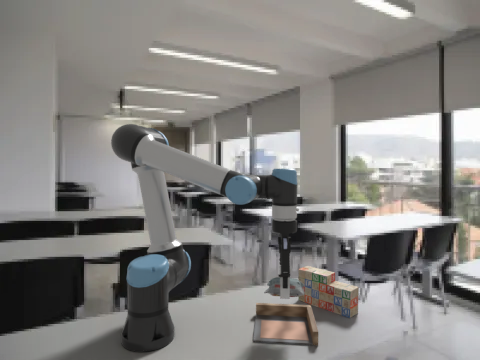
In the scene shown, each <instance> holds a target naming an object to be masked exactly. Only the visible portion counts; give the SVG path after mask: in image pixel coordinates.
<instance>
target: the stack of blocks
mask: <svg viewBox="0 0 480 360" xmlns="http://www.w3.org/2000/svg"><path fill="white" fill-rule="evenodd" d="M297 270H298V271H297V272H298V278H297V279H298V280H299V281H300V282H302V283H303V284H304V287H302V289H303V291H304V292H305V294H304V295H302V296H299V297H297V298H298V301H301V302H304V303H306V304H307V305H311V306H313V307H316V308H321V309H322V310H327V311H328V312H331V311H332V313H334V314H336V315H340V316H343V317H346V318H348V319H351V318H352V317H354V316H355V315H357V314H358V313H359V292H360V291H359V288H360V287H359V286H356V285H352V284H349V283H345V282H342V281H338V280H336V272H334V271H330V270H327V269H324V268H317V267H314V266H310V265H306V266H303V267H300V268H299V269H297Z"/></svg>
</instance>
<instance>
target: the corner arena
mask: <svg viewBox="0 0 480 360" xmlns="http://www.w3.org/2000/svg"><path fill="white" fill-rule="evenodd" d="M255 303H256V305H255V319H254V320H255V321H254V329H253V339H252V341H253V343H265V344H267V343H269V344H283V345H284V344H285V345H303V346H316V347H317V346H318V347H319V329H318V326H317V322H316V318H315V315H314V311H313V308H312V305H311V304H295V303H293V304H292V303H291V304H289V303H270V302H269V303H268V302H267V303H266V302H265V303H264V302H255Z"/></svg>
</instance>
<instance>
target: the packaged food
mask: <svg viewBox="0 0 480 360" xmlns="http://www.w3.org/2000/svg"><path fill="white" fill-rule="evenodd" d="M267 287H268V288H267V289H266V290H265V291H264V294H269V295H270V296H272V297H280V277H272V278H271V279H270V280H269V281H268V282H267ZM302 287H304V284H303V283H302V282H300V281H299V280H298V278H292V277H290V298H298V297H299V296H302V295H304V294H305V292H304V291H303V289H302Z"/></svg>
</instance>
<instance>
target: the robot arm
mask: <svg viewBox="0 0 480 360" xmlns="http://www.w3.org/2000/svg"><path fill="white" fill-rule="evenodd" d="M110 144H111V149H112V151H113V153H114V154H115V155H116V157H118V158H119V159H121V160H123V161H125V162H129V163H130V165H131V170H132V172H134V173H136V174H137V178H138V183H139V188H140V193H141V198H142V205H143V211H144V215H145V220H146V224H147V225H146V226H147V230H148V231H147V232H148V237H149V241H150V246H149V247H148V249H147V250H146V252H147V254H146V255H144V256H142V255H141V256H139V257H136V258H134V259H133V260H131V261H130V262H129V264H128V266H127V273H126V277H125V278H126V292H127V293H126V295H127V296H126V297H127V299H126V301H127V315H126V318H125V321H124V324H123V328H122V329H121V330H122V331H121V334H120V336H121V337H120V338H121V339H120V340H121V341H120V342H121V345H122V347H123V348H125V349H126V350H128V351H131V352H139V353H142V352H144V353H145V352H150V351H151V352H152V351H155V350H159V349H161V348H162V349H163V348H164V347H166V346H167V345H169V344H171V342H173V340H174V338H175V325H174V322H173V319H172V317H171V314H170V313H171V312H170V310H169V293H170V291H172V290H173V289H174V288H176V287H177V286H178V285H179V284H182V282H183V281H185V279H186V278H187V277H188V276H189V273H190V271H191V269H192V268H191V267H192V261H191V257H190V255H189V253H188V252H187V251H185V249H184V246H183V242H182V241H180V240H179V239H177V234H176V228H175V222H174V218H173V213H172V208H171V203H170V198H169V197H170V196H169V191H168V185H167V181H166V175H165V173H166V174H168V175H171V176H173V177H176V178H178V179H181V180H183V181H185V182H188V183H191V184H193V185H196V186H197V187H200V188H203V189H205V190H207V191H210V192H213V193H215V194H218V195H220V196H223V198H226V199H228V200H229V201H230V203H231V204H232V203H233V204H234V205H246V204H249V203H251V202H252V201H254V200H271V202H272V203H271V217H272V223H271V224H272V225H271V229H272V230H271V231H272V232H273V233H276V234H279V236H278V237H277V244H278V252H279V259H278V260H279V274H277V276H278V277H280V296H279V297H280V298H279V299H282V300H283V299H285V300H289V299H291V297H290V278H291V259H290V258H291V257H290V255H291V250H292V249H291V247H292V246H291V245H292V237H291V236H290V235H289V234H295V233H297V231H298V220H297V218H298V213H297V212H299V211H300V208H299V207H298V174H297V173H298V172H297V170H296V169H295V168H273V169H272V172H271V174H243V173H240V172H237V171H235V170H232V169H229V168H227V167H224V166H221V165H218V164H217V163H214V162H211V161H209V160H207V159H204V158H201V157H198V156H196V155H194V154H191V153H189V152H185V151H183V150H181V149H178V148H176V147H173V146H170V145H169V141H168V138H167V137H166V136H165V134H164V133H163V132H161V131H160V130H158V129H156V128H152V127H145V126H142V125H138V124H136V123H135V124H134V123H128V124H127V123H126V124H122V125H121V126H119V127H117V129H115V131H114V132H113V134H112V136H111V142H110Z"/></svg>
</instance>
